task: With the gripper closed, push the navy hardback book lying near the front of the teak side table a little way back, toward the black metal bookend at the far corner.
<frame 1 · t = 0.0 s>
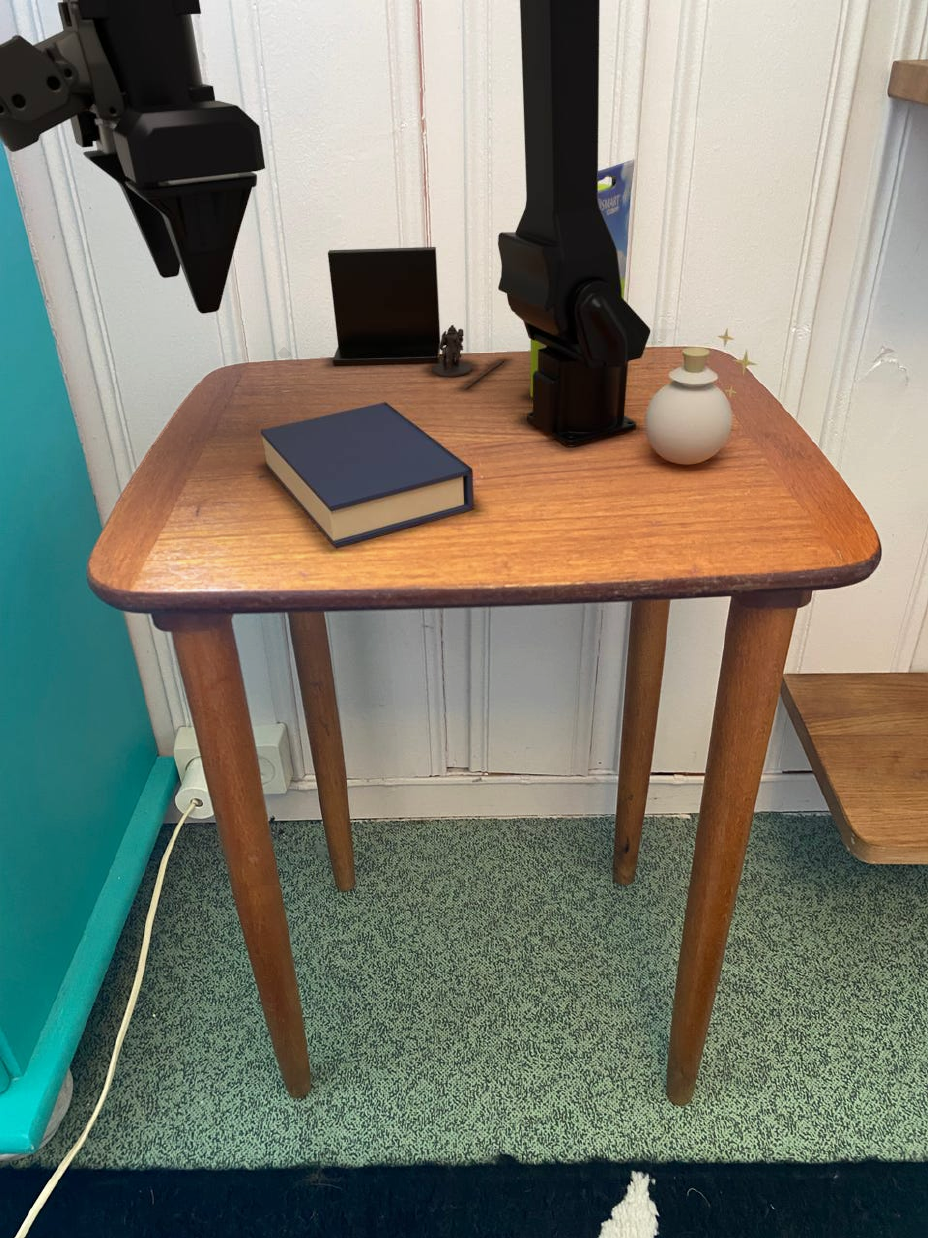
hand: (188, 293, 54), 15 cm above the table, tool pointing down, fingers open, 9 cm apart
figurine: (460, 372, 84), on the table
bookend: (388, 355, 88), on the table
box: (576, 385, 80), on the table
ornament: (692, 465, 66), on the table
book: (365, 487, 65), on the table
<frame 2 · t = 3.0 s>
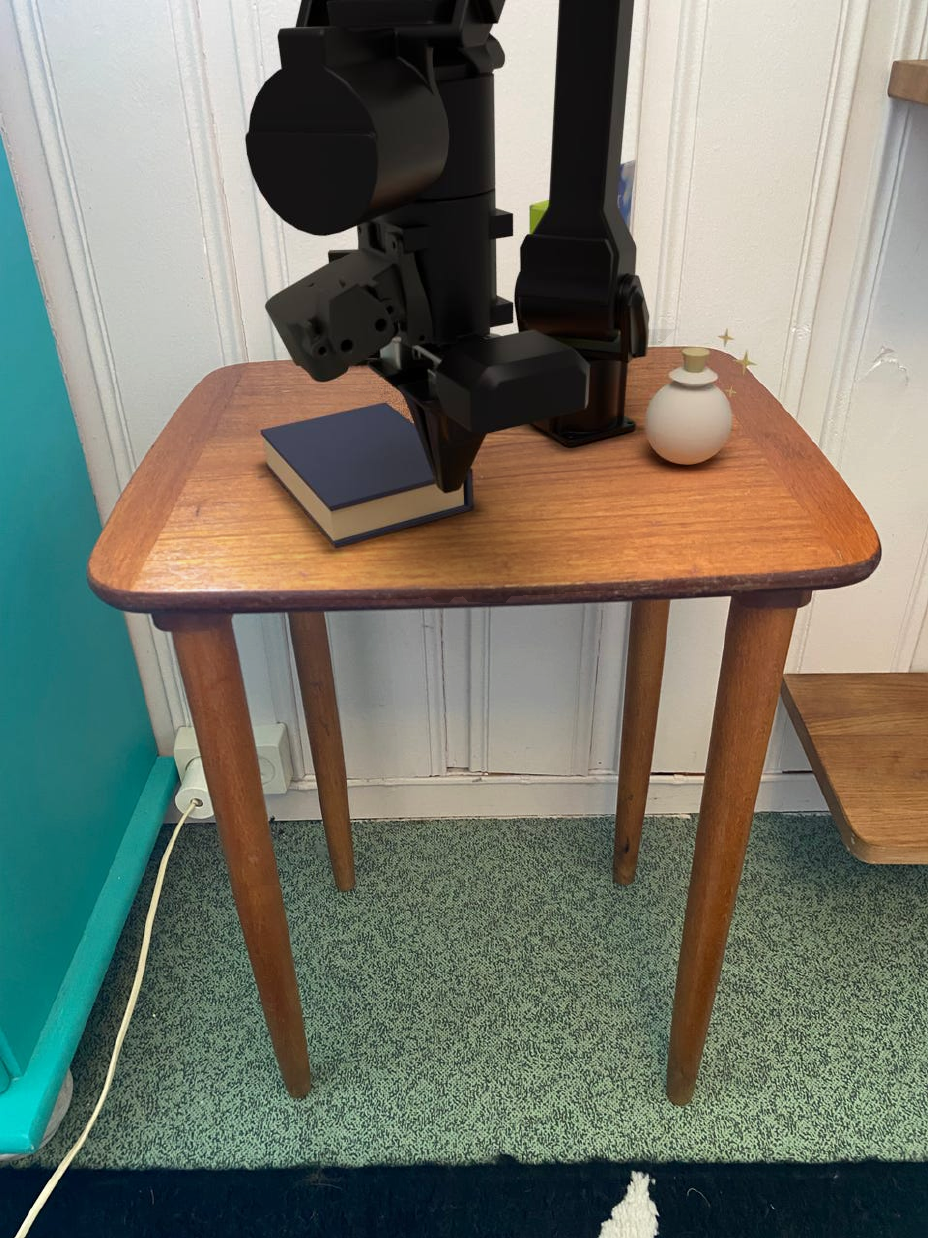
hand: (448, 489, 52), 6 cm above the table, tool pointing down, fingers closed
nothing on the table moved.
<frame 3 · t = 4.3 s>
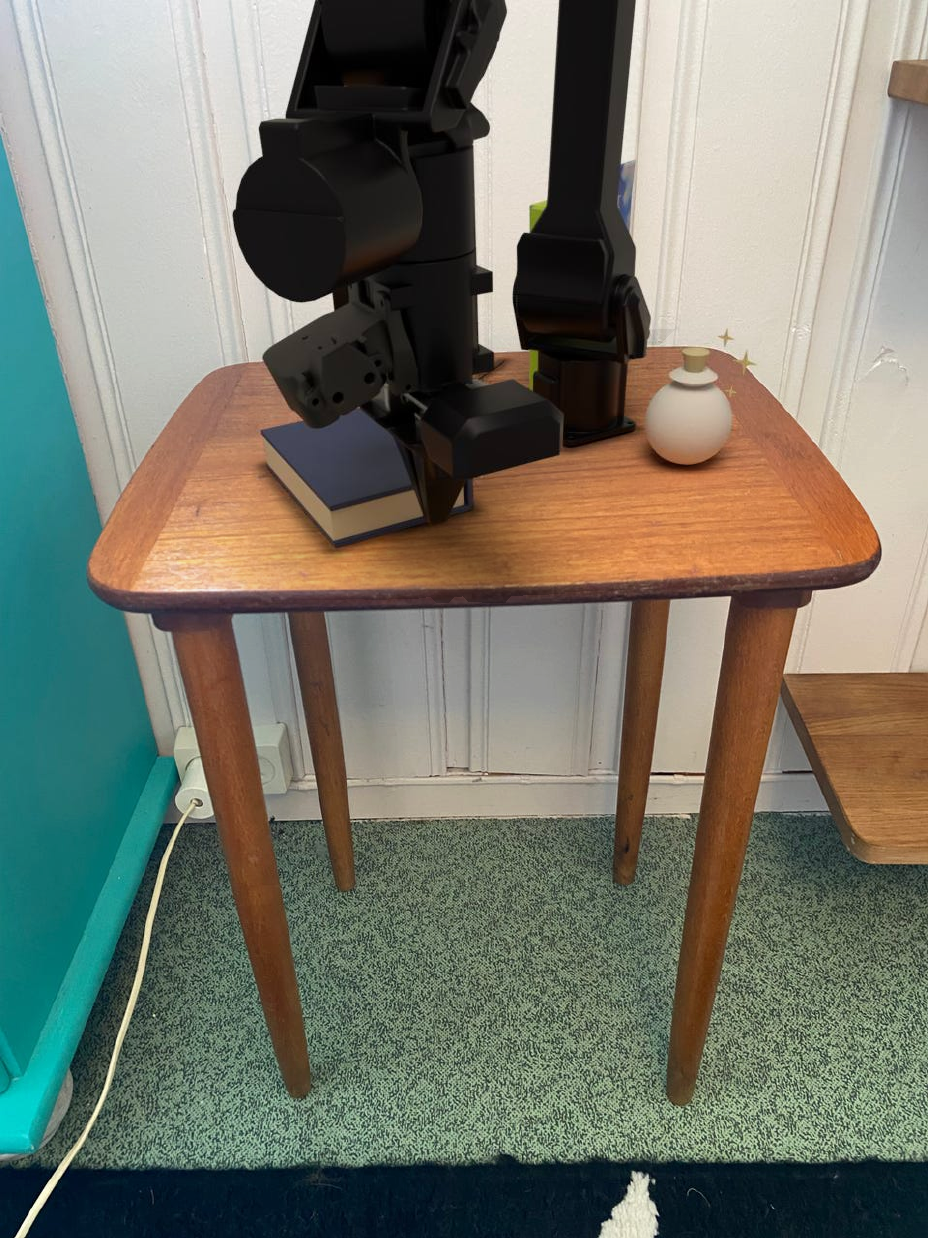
hand: (435, 521, 55), 2 cm above the table, tool pointing down, fingers closed
nothing on the table moved.
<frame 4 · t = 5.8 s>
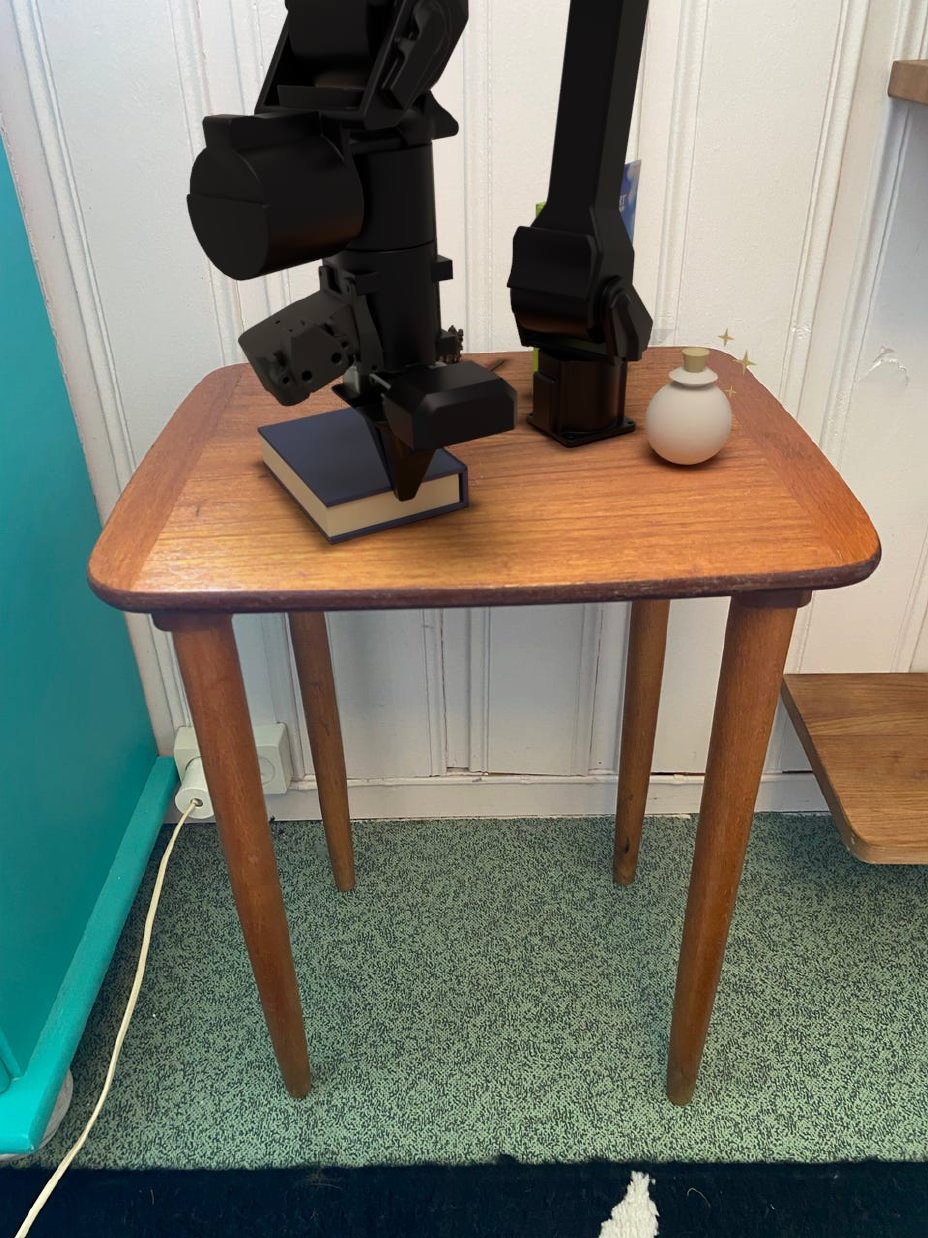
hand: (405, 498, 58), 2 cm above the table, tool pointing down, fingers closed
box: (578, 384, 80), on the table, touching arm
book: (361, 484, 65), on the table, touching gripper
everything else where it was.
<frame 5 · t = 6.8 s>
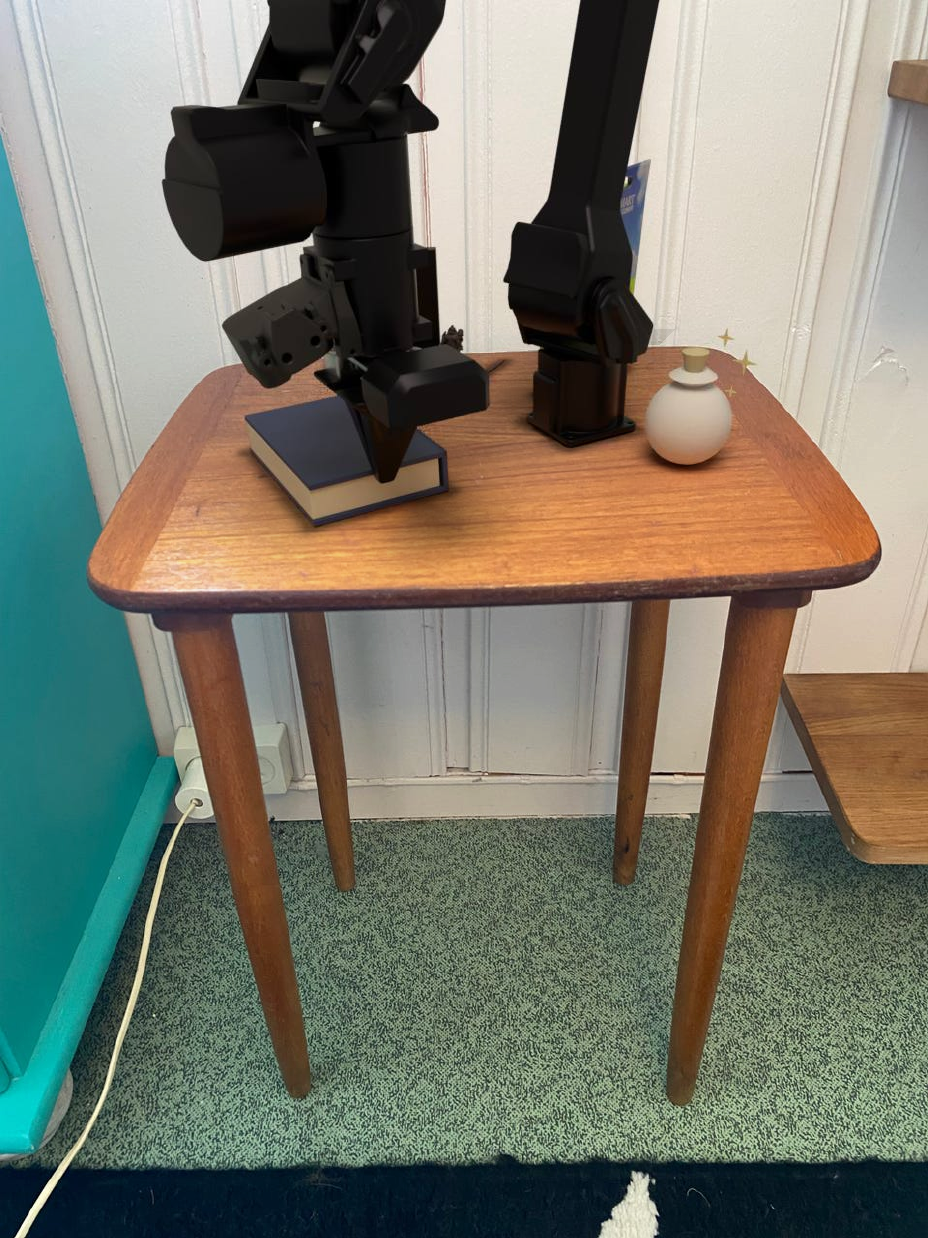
hand: (385, 481, 60), 2 cm above the table, tool pointing down, fingers closed
book: (345, 470, 67), on the table, touching gripper
everything else where it was.
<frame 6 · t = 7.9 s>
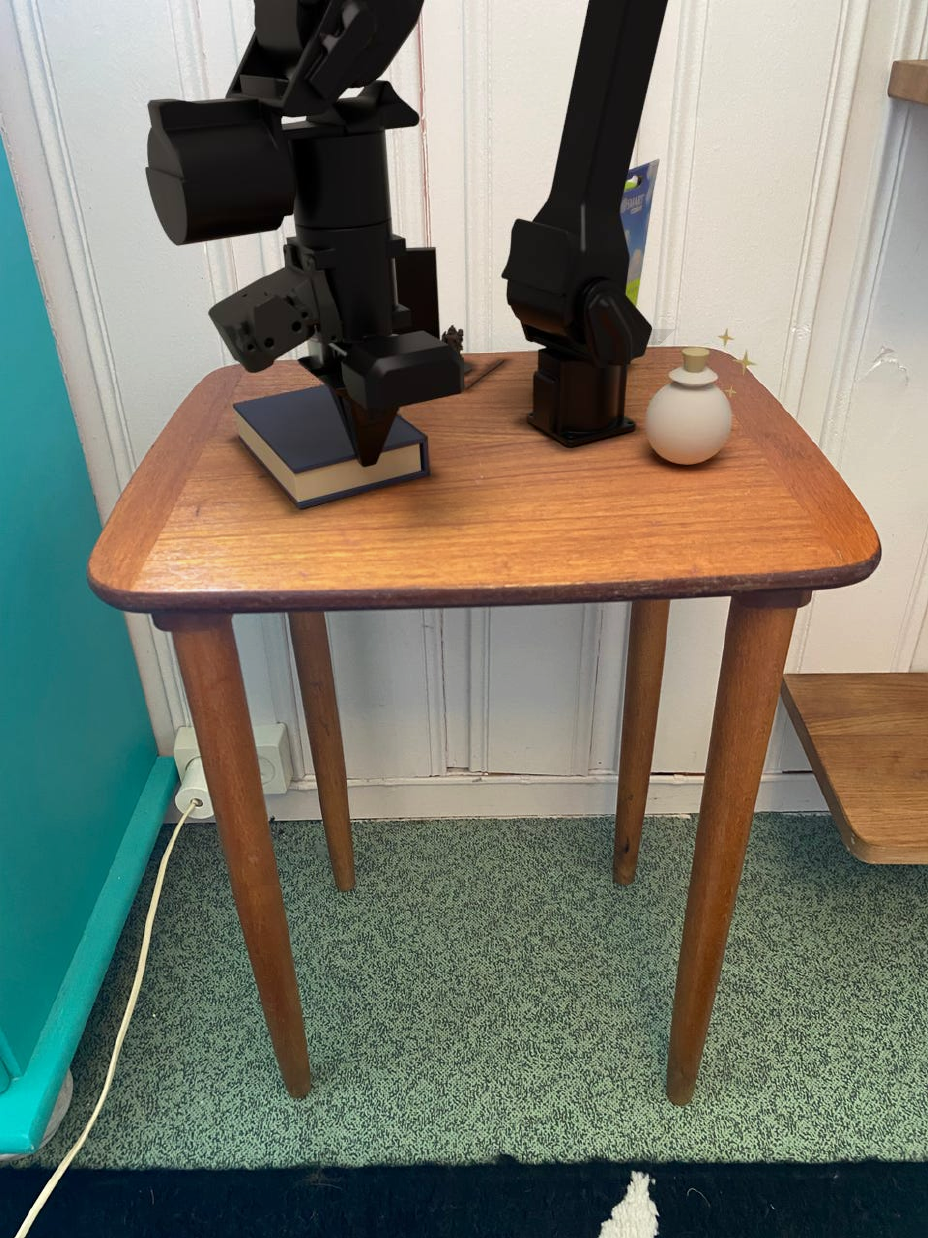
hand: (367, 464, 62), 2 cm above the table, tool pointing down, fingers closed
book: (330, 456, 69), on the table, touching gripper
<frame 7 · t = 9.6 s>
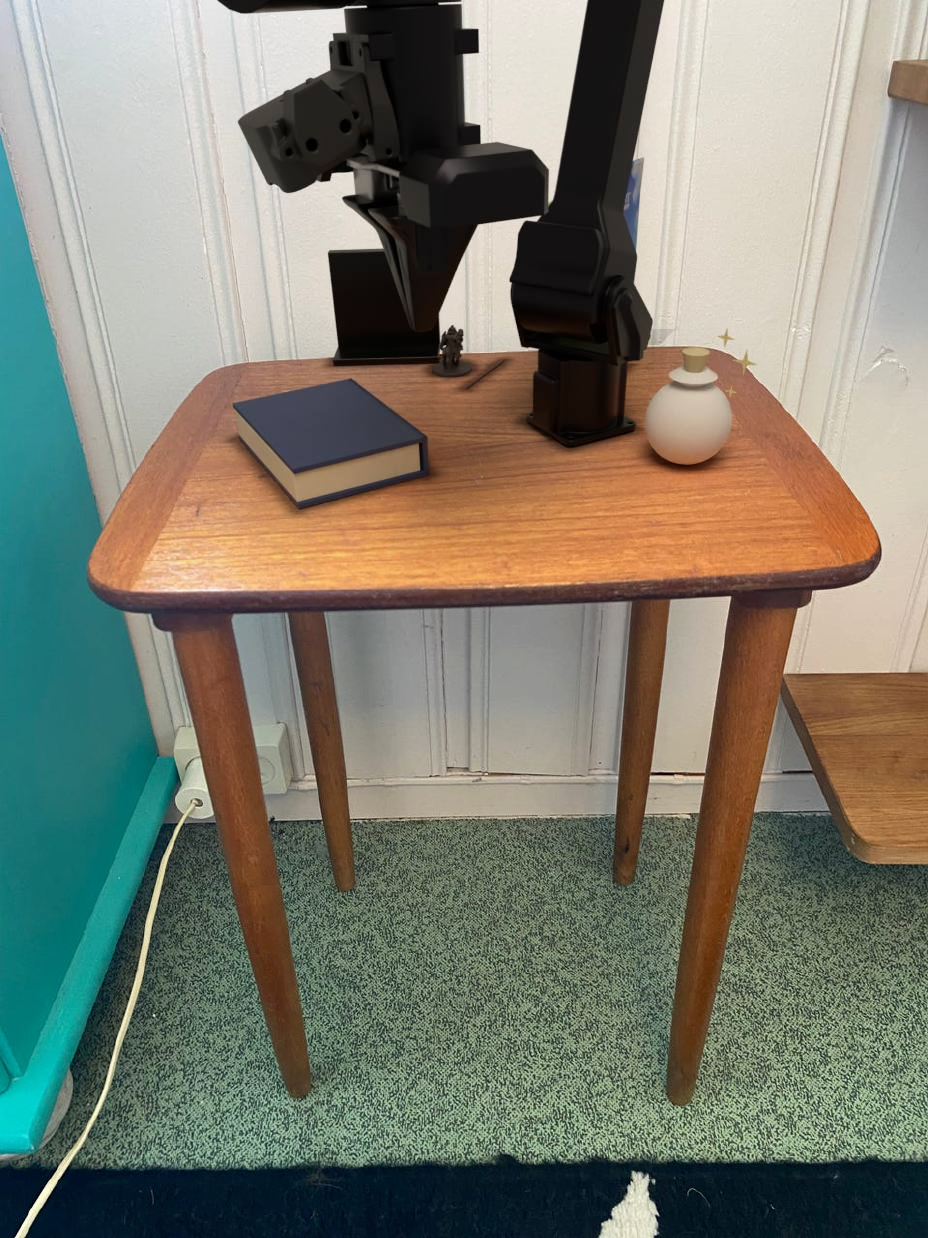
hand: (421, 329, 53), 13 cm above the table, tool pointing down, fingers closed
box: (586, 382, 81), on the table
book: (329, 456, 69), on the table
everything else where it was.
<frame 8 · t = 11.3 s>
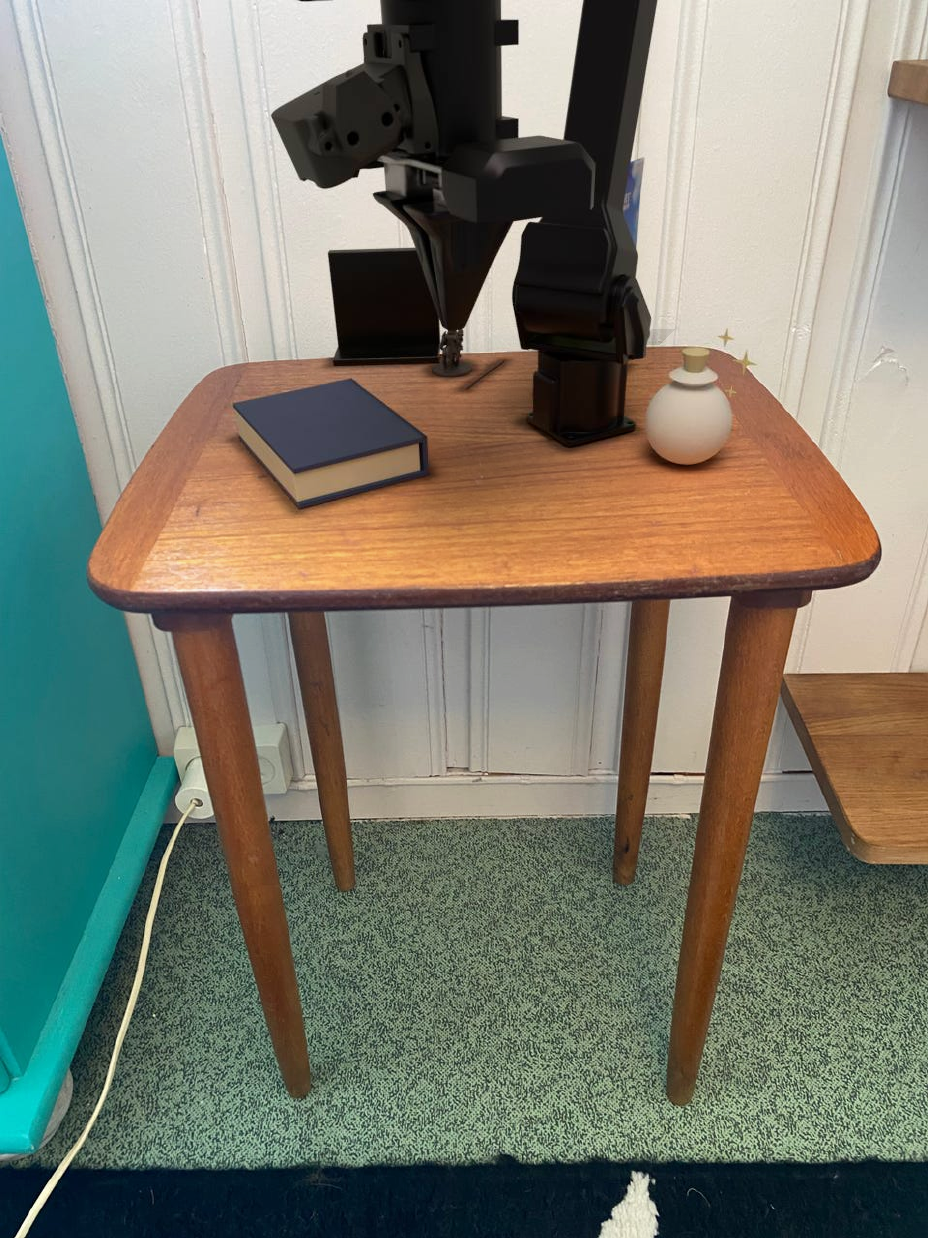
hand: (453, 328, 52), 13 cm above the table, tool pointing down, fingers closed
nothing on the table moved.
at the end: book inside the target area on the table beside the bookend (1.5 cm from its centre), on the table; book moved 6.4 cm from its start; book tilted 0° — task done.
